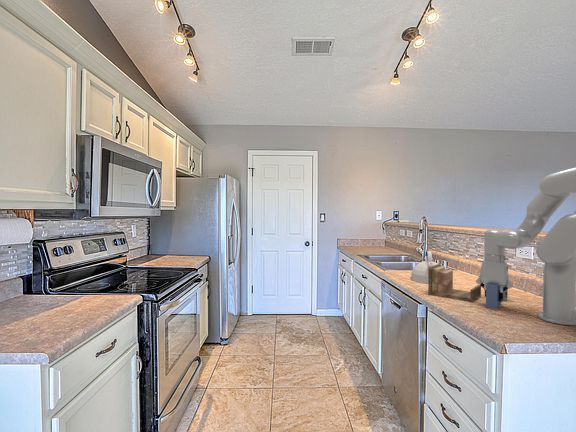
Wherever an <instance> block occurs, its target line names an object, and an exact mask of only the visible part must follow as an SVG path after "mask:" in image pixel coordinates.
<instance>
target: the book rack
mask: <svg viewBox="0 0 576 432" xmlns="http://www.w3.org/2000/svg"><path fill="white" fill-rule="evenodd" d="M453 272H454V270H453V269H446V267H445V266H443V265H441V264H440V263H438V264H437V265H434V266H431V267H429V269H428V284H427V285H428V287H427V288H428V290H427V292H428V293H427V295H429V296H434V297H441V298H445V299H453V300H458V301H463V302H469V303H474V302H476V301H477V300H478V299H479V298H481V297H482V287H481V286H480V285H479V284H477V285H476V286H474V287H472V288H471V289H470V291H467V290H461V289H454V287H453V286H454V280H453V279H454V273H453Z"/></svg>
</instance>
